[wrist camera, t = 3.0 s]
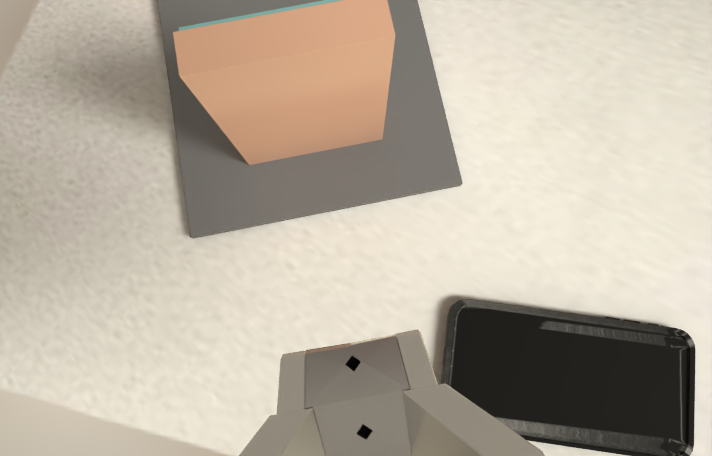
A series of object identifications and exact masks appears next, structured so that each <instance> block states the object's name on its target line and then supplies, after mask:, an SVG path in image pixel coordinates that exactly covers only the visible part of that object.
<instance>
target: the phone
mask: <svg viewBox="0 0 712 456" xmlns="http://www.w3.org/2000/svg"><path fill="white" fill-rule="evenodd" d="M444 383H445V384H447V385H448V386H450V387H451V388H453V389H454V390H455V391H457V392H458V393H460V394H461V395H463V396H464V397H465V398H467V399H468V400H470V401H471V402H473V403H474V404H475V405H477V406H478V407H480V408H481V409H483V410H484V411H485V412H487V413H488V414H490V415H491V416H493V417H494V418H495V419H497V420H498V421H500V422H501V423H503V424H504V425H505V426H507V427H508V428H510V429H511V430H513V431H514V432H515V433H517V434H518V435H520V436H521V437H523V438H524V439H525V440H529V441H536V442H542V443H549V444H556V445H562V446H569V447H576V448H582V449H589V450H596V451H602V452H609V453H616V454H622V455H629V456H690V455H691V453H692V451H693V446H694V401H695V344H694V342H693V340H692V338H691V337H690V336H689V335H688V333H686V332H685V331H683V330H681V329H677V328H671V327H664V326H658V325H656V324H649V323H648V324H642V323H640V322H637V321H630V320H623V321H621V320H620V319H617V318H610V317H605V318H600V317H592V316H585V315H578V314H571V313H564V312H557V311H550V310H543V309H535V308H528V307H521V306H514V305H507V304H500V303H493V302H486V301H478V300H471V299H468V300H460V301H458V302H456V303H455V304H453V305H452V307H451V308H450V310H449V314H448V320H447V330H446V339H445V349H444V358H443V368H442V377H441V384H444Z"/></svg>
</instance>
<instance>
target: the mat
mask: <svg viewBox="0 0 712 456" xmlns="http://www.w3.org/2000/svg"><path fill="white" fill-rule="evenodd" d="M157 1H158V8H159V15H160V22H161V29H162V37H163V44H164V51H165V58H166V65H167V72H168V80H169V87H170V94H171V101H172V108H173V115H174V123H175V130H176V137H177V144H178V151H179V158H180V165H181V173H182V180H183V187H184V194H185V201H186V208H187V216H188V223H189V230H190V237H192V238H198V237H203V236H208V235H213V234H218V233H223V232H228V231H233V230H239V229H244V228H249V227H254V226H259V225H264V224H269V223H274V222H279V221H284V220H289V219H294V218H299V217H304V216H309V215H315V214H320V213H325V212H330V211H335V210H340V209H345V208H350V207H355V206H360V205H365V204H370V203H375V202H380V201H385V200H391V199H396V198H401V197H406V196H411V195H416V194H421V193H426V192H431V191H436V190H441V189H446V188H451V187H456V186H461V184H462V180H461V175H460V171H459V167H458V163H457V159H456V155H455V151H454V147H453V143H452V139H451V135H450V131H449V127H448V123H447V119H446V115H445V111H444V106H443V102H442V98H441V94H440V90H439V86H438V82H437V78H436V74H435V70H434V66H433V62H432V58H431V54H430V50H429V46H428V41H427V37H426V33H425V29H424V25H423V21H422V17H421V13H420V9H419V5H418V1H417V0H387V1H388V5H389V10H390V14H391V18H392V22H393V27H394V31H395V43H394V51H393V59H392V67H391V75H390V83H389V91H388V99H387V107H386V115H385V123H384V131H383V139H381V140H376V141H371V142H366V143H361V144H356V145H351V146H345V147H340V148H335V149H330V150H325V151H320V152H315V153H309V154H304V155H299V156H294V157H289V158H284V159H279V160H273V161H268V162H263V163H258V164H253V165H249V164H248V163H247V161H246V160H245V159H244V158H243V156H242V155H241V154H240V153H239V151H238V150H237V149H236V147H235V146H234V145H233V144H232V142H231V141H230V140H229V139H228V137H227V136H226V135H225V134H224V132H223V131H222V130H221V128H220V127H219V126H218V125H217V123H216V122H215V121H214V120H213V118H212V117H211V116H210V114H209V113H208V112H207V111H206V109H205V108H204V107H203V106H202V104H201V103H200V102H199V100H198V99H197V98H196V97H195V95H194V94H193V93H192V92H191V90H190V89H189V88H188V86H187V85H186V84H185V83H184V81H183V80H182V79H181V78H180V76H179V71H178V64H177V57H176V50H175V43H174V36H173V32H176V31H179V27H184V26H190V25H195V24H200V23H206V22H211V21H216V20H222V19H227V18H232V17H238V16H243V15H248V14H254V13H259V12H264V11H270V10H275V9H280V8H286V7H291V6H297V5H302V4H307V3H313V2H318V1H323V0H157Z"/></svg>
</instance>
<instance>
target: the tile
mask: <svg viewBox="0 0 712 456" xmlns="http://www.w3.org/2000/svg"><path fill="white" fill-rule="evenodd" d="M173 36H174V43H175V50H176V57H177V64H178V71H179V76H180V78H181V79H182V80H183V81H184V83H185V84H186V85H187V86H188V88H189V89H190V90H191V92H192V93H193V94H194V95H195V97H196V98H197V99H198V100H199V102H200V103H201V104H202V106H203V107H204V108H205V109H206V111H207V112H208V113H209V114H210V116H211V117H212V118H213V120H214V121H215V122H216V123H217V125H218V126H219V127H220V128H221V130H222V131H223V132H224V134H225V135H226V136H227V137H228V139H229V140H230V141H231V142H232V144H233V145H234V146H235V147H236V149H237V150H238V151H239V153H240V154H241V155H242V156H243V158H244V159H245V160H246V161H247V163H248V164H249V165H253V164H258V163H263V162H268V161H273V160H279V159H284V158H289V157H294V156H299V155H304V154H309V153H315V152H320V151H325V150H330V149H335V148H340V147H345V146H351V145H356V144H361V143H366V142H371V141H376V140H381V139H383V131H384V123H385V115H386V107H387V99H388V91H389V83H390V75H391V67H392V59H393V51H394V43H395V31H394V27H393V22H392V18H391V14H390V10H389V5H388V1H387V0H323V1H318V2H313V3H307V4H302V5H297V6H291V7H286V8H280V9H275V10H270V11H264V12H259V13H254V14H248V15H243V16H238V17H232V18H227V19H222V20H216V21H211V22H206V23H200V24H195V25H190V26H184V27H179V31H176V32H173Z"/></svg>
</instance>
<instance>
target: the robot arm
mask: <svg viewBox="0 0 712 456" xmlns="http://www.w3.org/2000/svg"><path fill="white" fill-rule="evenodd" d="M239 456H544V454H543V452H542V451H541V450H540V449H538V448H537V447H535V446H534V445H532V444H531V443H530V442H528V441H527V440H525V439H524V438H523V437H521V436H520V435H518V434H517V433H515V432H514V431H513V430H511V429H510V428H508V427H507V426H505V425H504V424H503V423H501V422H500V421H498V420H497V419H495V418H494V417H493V416H491V415H490V414H488V413H487V412H485V411H484V410H483V409H481V408H480V407H478V406H477V405H475V404H474V403H473V402H471V401H470V400H468V399H467V398H465V397H464V396H463V395H461V394H460V393H458V392H457V391H455V390H454V389H453V388H451V387H450V386H448V385H447V384H445V383H444V384H439V385H438V382H437V379H436V377H435V374H434V371H433V368H432V365H431V362H430V359H429V356H428V353H427V350H426V347H425V345H424V342H423V339H422V336H421V333H420V331H419V330H413V331H408V332H403V333H398V334H396V335H390V336H385V337H380V338H375V339H369V340H364V341H359V342H354V343H348V344H341V345H335V346H329V347H323V348H316V349H310V350H306V351H300V352H294V353H288V354H283V355H282V358H281V362H280V376H279V390H278V404H277V415H272V416H269V418H268V419H267V420H266V421H265V423H264V424H263V425H262V427H261V428H260V429H259V430H258V432H257V433H256V434H255V436H254V437H253V438H252V439H251V441H250V442H249V443H248V445H247V446H246V447H245V449H244V450H243V451H242V452H241V454H240V455H239Z"/></svg>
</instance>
